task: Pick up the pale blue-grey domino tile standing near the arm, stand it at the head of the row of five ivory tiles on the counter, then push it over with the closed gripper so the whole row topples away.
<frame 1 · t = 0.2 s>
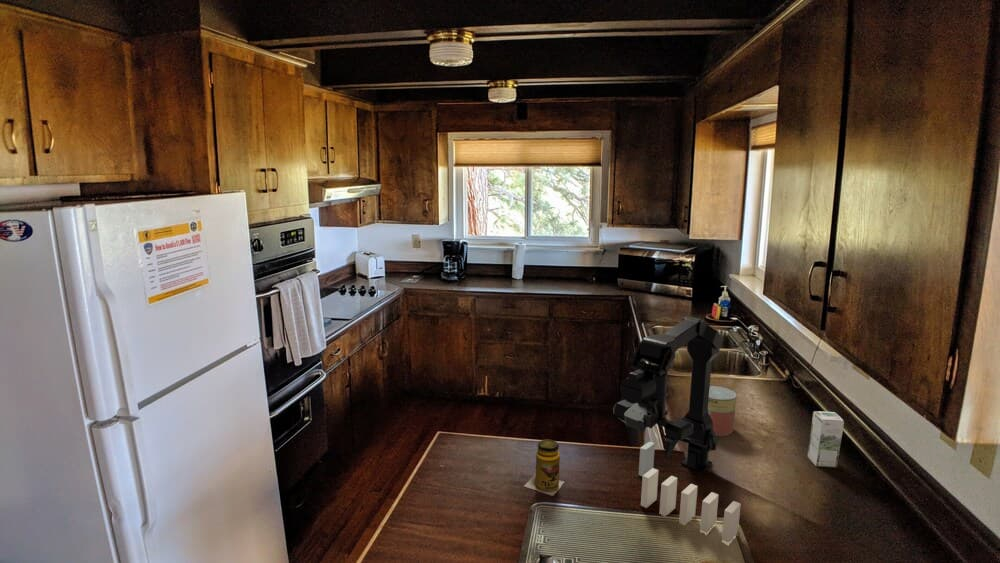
hand: (649, 451, 135), 14 cm above the countertop, tool pointing down, fingers open, 9 cm apart
canned food: (714, 428, 179), on the countertop
syrup box: (821, 463, 158), on the countertop
condiment: (544, 485, 146), on the countertop
domino 4: (687, 519, 132), on the countertop
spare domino: (645, 472, 152), on the countertop
domino 3: (667, 510, 135), on the countertop
domino 5: (707, 529, 128), on the countertop
domino 6: (729, 539, 125), on the countertop
domino 2: (648, 502, 138), on the countertop
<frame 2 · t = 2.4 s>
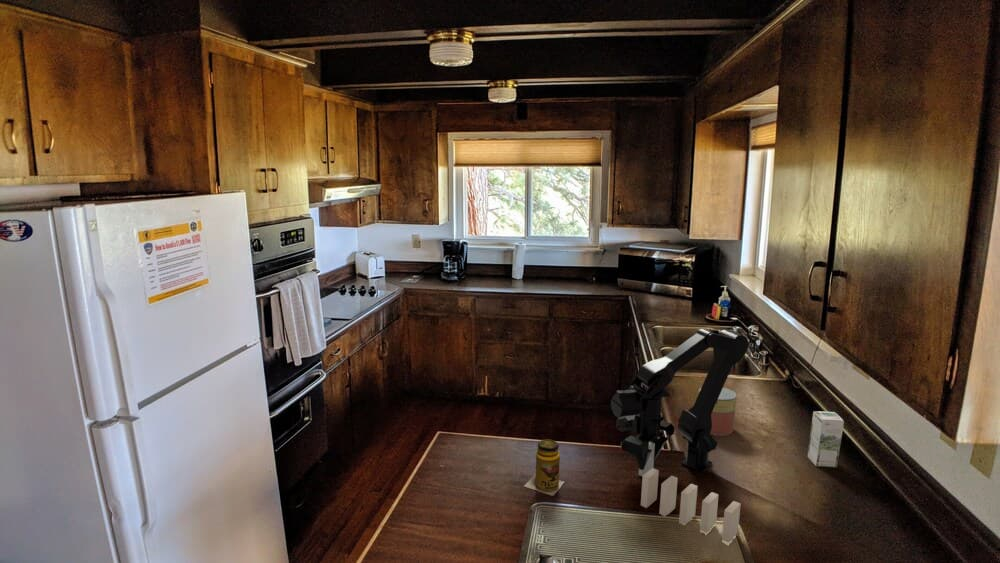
hand: (646, 465, 151), 2 cm above the countertop, tool pointing down, fingers closed on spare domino, 5 cm apart
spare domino: (645, 472, 152), on the countertop, touching gripper
everything else where it was.
when the fingers open (3 cm above the countertop, at t = 6.4 s): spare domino drops 1 cm, on the countertop.
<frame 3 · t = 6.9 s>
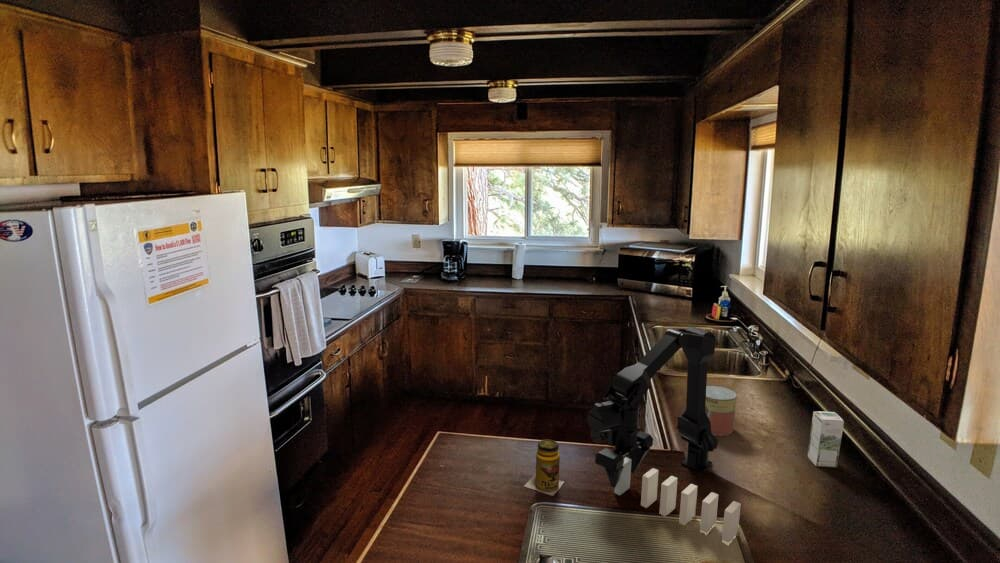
hand: (622, 479, 143), 3 cm above the countertop, tool pointing down, fingers open, 9 cm apart
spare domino: (622, 490, 143), on the countertop
everything else where it was.
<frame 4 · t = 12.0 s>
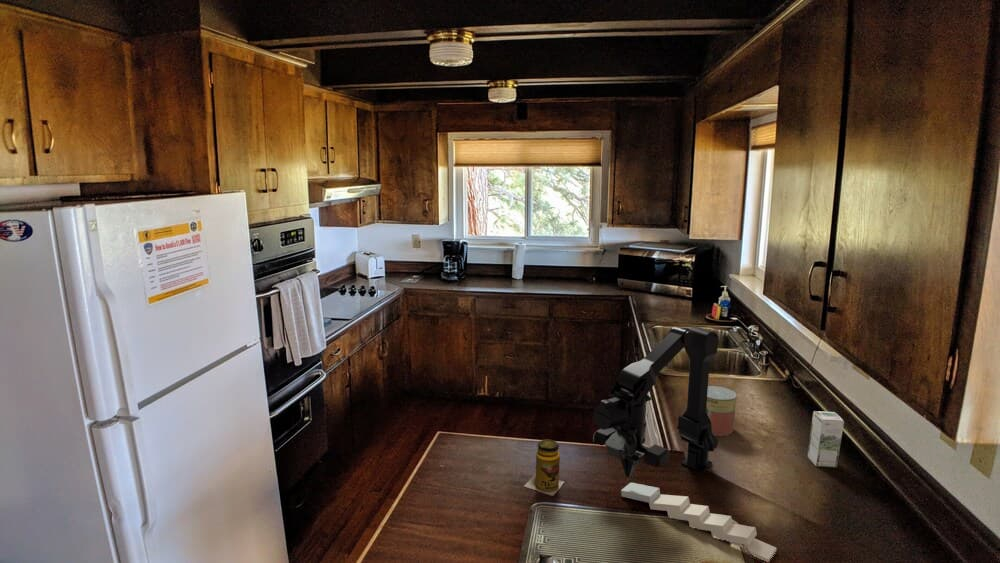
hand: (628, 476, 141), 4 cm above the countertop, tool pointing down, fingers closed
domino 4: (693, 519, 130), point 1 cm above the countertop, tilted 73°, touching domino 3, domino 5
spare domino: (626, 489, 142), point 1 cm above the countertop, tilted 78°, touching domino 2
domino 3: (672, 510, 134), point 1 cm above the countertop, tilted 72°, touching domino 2, domino 4
domino 5: (716, 529, 127), point 1 cm above the countertop, tilted 74°, touching domino 4, domino 6
domino 6: (734, 539, 124), on the countertop, tilted 90°, touching domino 5
domino 2: (654, 501, 137), point 1 cm above the countertop, tilted 71°, touching domino 3, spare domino
everything else where it was.
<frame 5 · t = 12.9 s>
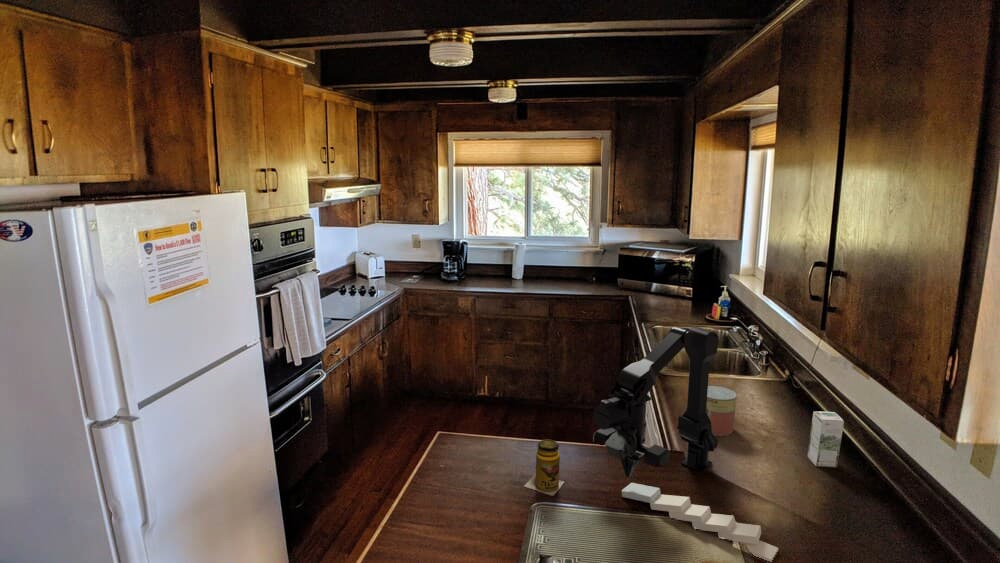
hand: (628, 476, 141), 4 cm above the countertop, tool pointing down, fingers closed
domino 5: (720, 529, 127), point 1 cm above the countertop, tilted 76°, touching domino 4, domino 6
domino 2: (655, 501, 137), point 1 cm above the countertop, tilted 72°, touching domino 3, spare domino
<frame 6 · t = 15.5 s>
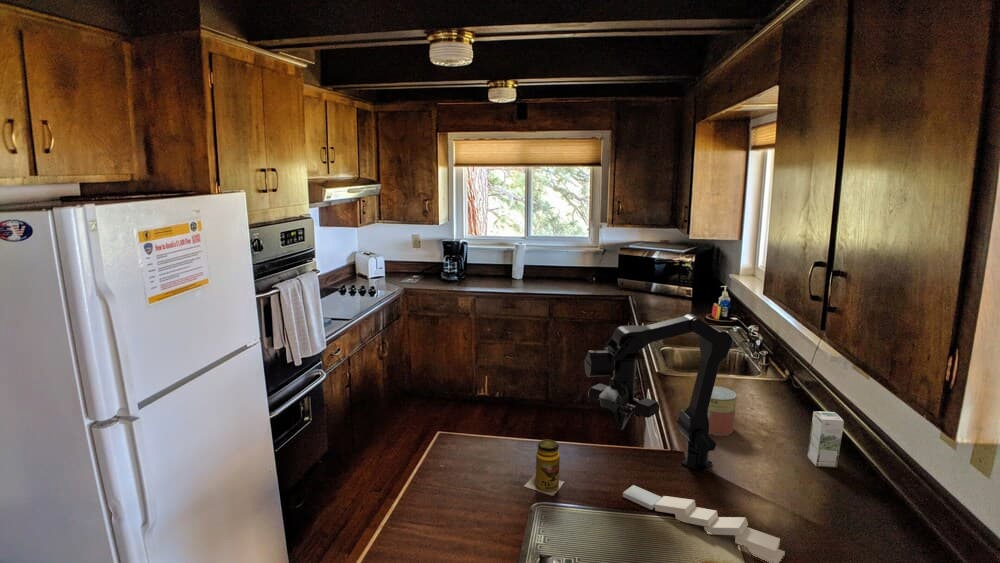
hand: (621, 429, 151), 12 cm above the countertop, tool pointing down, fingers closed
domino 4: (709, 525, 128), point 1 cm above the countertop, tilted 67°
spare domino: (628, 491, 142), on the countertop, tilted 90°
domino 3: (680, 512, 133), point 1 cm above the countertop, tilted 75°, touching domino 2
domino 5: (738, 533, 124), point 2 cm above the countertop, tilted 90°, touching domino 6
domino 6: (742, 543, 123), on the countertop, tilted 90°, touching domino 5
domino 2: (659, 503, 137), point 1 cm above the countertop, tilted 73°, touching domino 3
everything else where it was.
at the end: domino 6 tilted 90°; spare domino tilted 90° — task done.
